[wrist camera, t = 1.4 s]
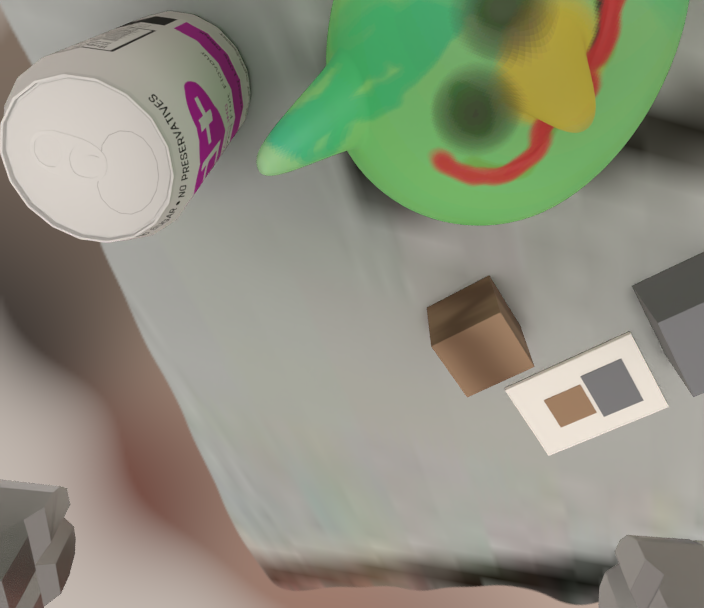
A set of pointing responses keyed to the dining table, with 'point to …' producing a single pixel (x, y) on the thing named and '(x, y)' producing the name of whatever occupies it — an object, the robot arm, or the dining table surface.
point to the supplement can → (124, 125)
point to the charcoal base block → (678, 317)
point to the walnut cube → (478, 337)
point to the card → (588, 394)
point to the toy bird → (480, 99)
